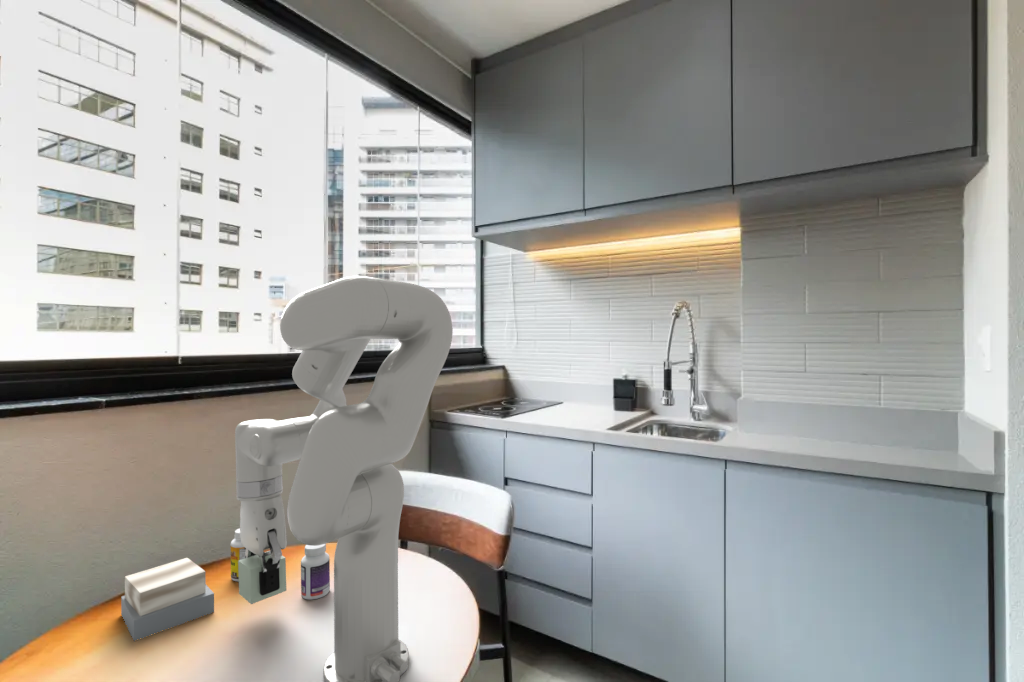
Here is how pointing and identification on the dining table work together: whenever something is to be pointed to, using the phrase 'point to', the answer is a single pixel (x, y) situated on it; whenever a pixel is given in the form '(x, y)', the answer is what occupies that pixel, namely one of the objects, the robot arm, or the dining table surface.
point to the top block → (164, 585)
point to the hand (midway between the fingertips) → (262, 585)
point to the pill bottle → (315, 572)
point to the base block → (166, 615)
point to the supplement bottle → (236, 555)
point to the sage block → (257, 578)
